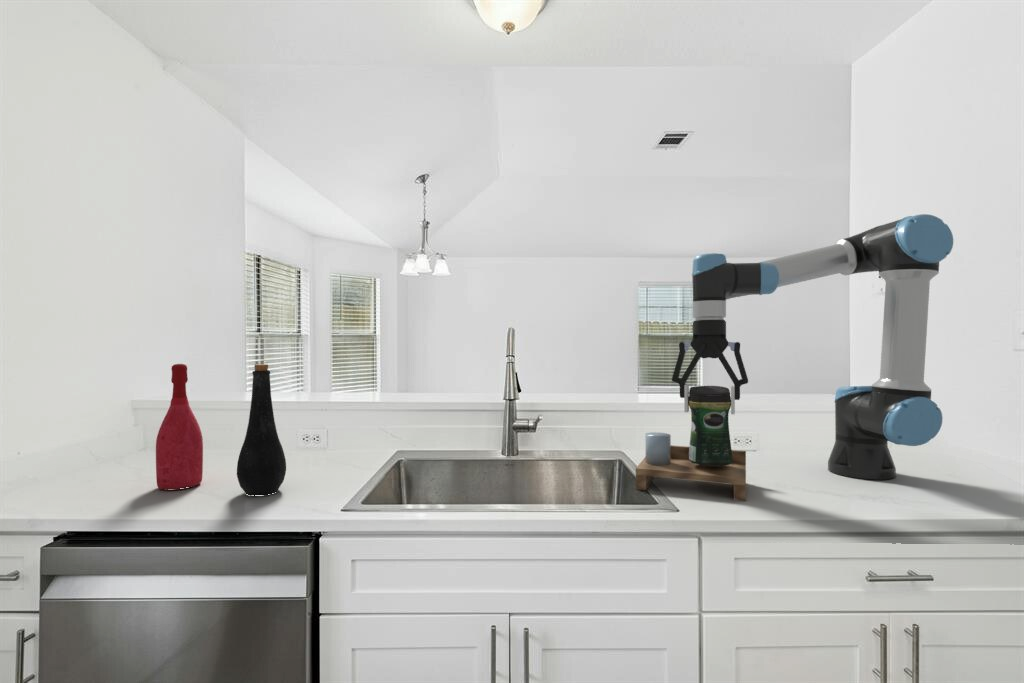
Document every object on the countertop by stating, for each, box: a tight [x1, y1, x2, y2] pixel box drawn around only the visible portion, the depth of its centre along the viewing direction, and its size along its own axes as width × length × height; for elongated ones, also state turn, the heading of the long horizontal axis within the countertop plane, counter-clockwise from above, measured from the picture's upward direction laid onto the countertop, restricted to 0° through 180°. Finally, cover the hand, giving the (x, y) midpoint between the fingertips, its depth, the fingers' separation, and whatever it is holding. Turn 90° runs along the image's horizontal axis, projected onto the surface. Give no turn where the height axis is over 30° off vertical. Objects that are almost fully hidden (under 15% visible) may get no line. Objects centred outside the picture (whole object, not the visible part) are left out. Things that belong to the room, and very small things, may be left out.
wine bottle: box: [155, 363, 204, 491], centre depth 132 cm, size 10×10×30 cm
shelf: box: [635, 445, 747, 502], centre depth 130 cm, size 24×16×8 cm, turn 66°
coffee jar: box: [688, 385, 733, 466], centre depth 129 cm, size 10×8×19 cm
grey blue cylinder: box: [645, 431, 672, 465], centre depth 134 cm, size 6×6×7 cm
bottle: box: [236, 363, 287, 496], centre depth 126 cm, size 11×11×30 cm
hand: (709, 412), depth 129 cm, fingers closed on coffee jar, 10 cm apart
